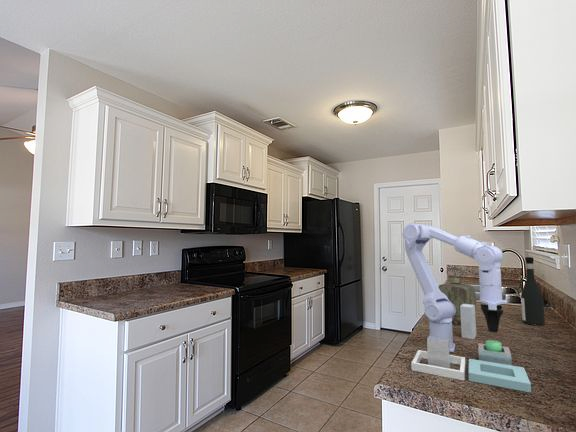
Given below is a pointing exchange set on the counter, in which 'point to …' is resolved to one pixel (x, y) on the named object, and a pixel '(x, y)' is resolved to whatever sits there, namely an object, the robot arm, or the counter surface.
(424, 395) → the counter surface
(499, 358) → the button housing
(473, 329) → the skincare box
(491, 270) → the robot arm
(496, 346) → the button
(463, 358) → the white square frame
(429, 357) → the billet
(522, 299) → the wine bottle
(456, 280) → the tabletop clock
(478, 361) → the pale blue window frame
